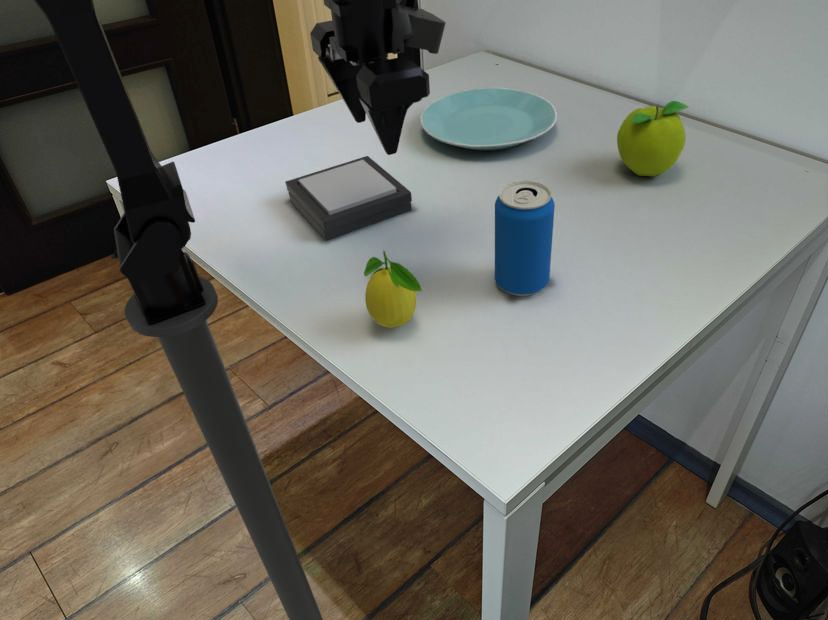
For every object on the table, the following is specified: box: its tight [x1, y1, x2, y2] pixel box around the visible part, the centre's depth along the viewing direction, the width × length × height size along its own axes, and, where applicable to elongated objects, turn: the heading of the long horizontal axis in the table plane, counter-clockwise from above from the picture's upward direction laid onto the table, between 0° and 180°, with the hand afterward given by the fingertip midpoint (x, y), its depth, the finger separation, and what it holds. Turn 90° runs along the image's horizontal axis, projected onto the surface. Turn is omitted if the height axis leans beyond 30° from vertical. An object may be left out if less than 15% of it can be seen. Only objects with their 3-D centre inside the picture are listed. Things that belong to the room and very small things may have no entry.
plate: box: [419, 86, 558, 151], centre depth 108 cm, size 22×22×3 cm
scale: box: [285, 155, 413, 241], centre depth 92 cm, size 13×13×3 cm
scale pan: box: [298, 160, 397, 216], centre depth 92 cm, size 10×10×2 cm
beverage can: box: [494, 180, 556, 297], centre depth 75 cm, size 6×6×12 cm
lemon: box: [363, 250, 423, 328], centre depth 71 cm, size 7×6×10 cm
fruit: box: [616, 100, 689, 177], centre depth 95 cm, size 9×9×10 cm
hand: (375, 137), depth 75 cm, fingers open, 9 cm apart
